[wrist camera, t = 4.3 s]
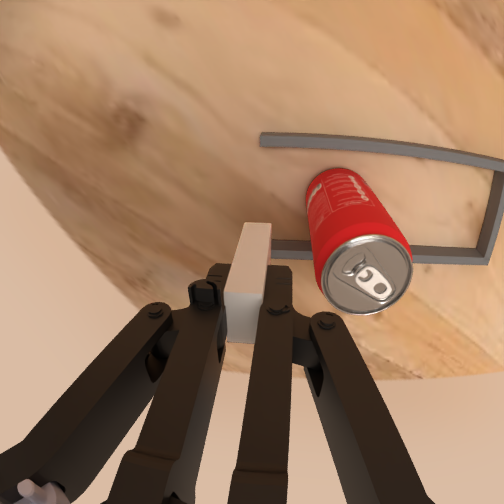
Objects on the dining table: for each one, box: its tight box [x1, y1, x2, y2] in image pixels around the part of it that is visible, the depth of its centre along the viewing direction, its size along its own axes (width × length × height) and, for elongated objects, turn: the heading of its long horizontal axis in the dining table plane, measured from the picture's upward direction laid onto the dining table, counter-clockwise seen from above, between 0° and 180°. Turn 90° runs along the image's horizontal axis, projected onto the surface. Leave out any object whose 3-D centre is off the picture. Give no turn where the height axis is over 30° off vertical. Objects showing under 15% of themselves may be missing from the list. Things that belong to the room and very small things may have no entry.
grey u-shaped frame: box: [260, 132, 504, 265], centre depth 24 cm, size 22×10×2 cm, turn 90°
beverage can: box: [306, 168, 413, 315], centre depth 20 cm, size 5×5×12 cm
